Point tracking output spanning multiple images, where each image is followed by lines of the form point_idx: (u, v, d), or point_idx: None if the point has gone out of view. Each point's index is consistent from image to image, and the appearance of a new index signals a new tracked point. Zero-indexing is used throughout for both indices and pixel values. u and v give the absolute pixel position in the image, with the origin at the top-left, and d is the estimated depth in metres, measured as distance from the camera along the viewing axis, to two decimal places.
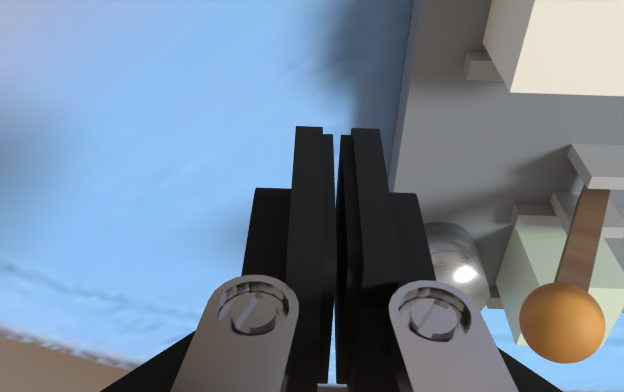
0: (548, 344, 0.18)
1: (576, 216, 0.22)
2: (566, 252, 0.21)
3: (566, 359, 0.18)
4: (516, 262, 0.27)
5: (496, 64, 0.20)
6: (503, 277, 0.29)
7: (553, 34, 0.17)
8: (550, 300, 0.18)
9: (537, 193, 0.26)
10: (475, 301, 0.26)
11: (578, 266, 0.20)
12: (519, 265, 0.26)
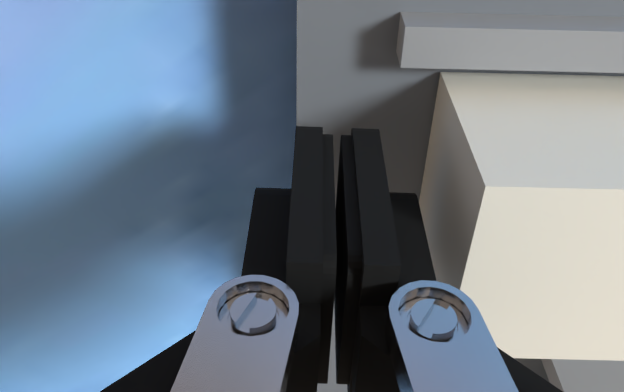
0: None
1: None
2: None
3: None
4: None
5: None
6: None
7: (511, 283, 0.10)
8: None
9: None
10: None
11: None
12: None
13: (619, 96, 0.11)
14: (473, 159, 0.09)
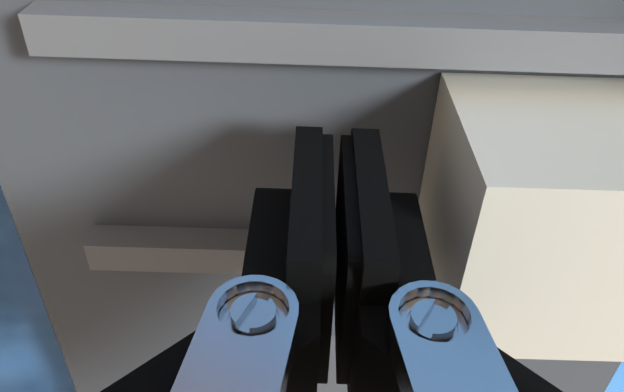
0: None
1: None
2: None
3: None
4: None
5: None
6: None
7: (510, 283, 0.10)
8: None
9: None
10: None
11: None
12: None
13: (619, 99, 0.11)
14: (474, 159, 0.09)
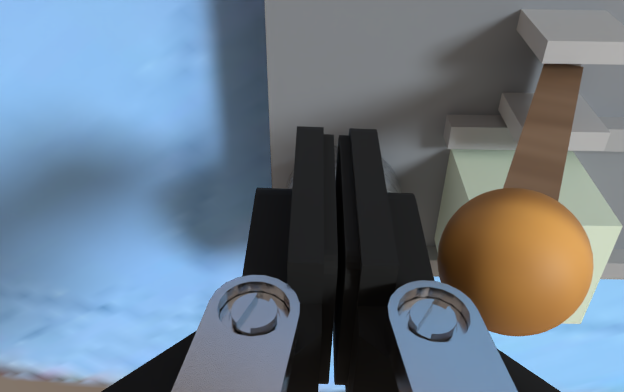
0: (488, 299, 0.09)
1: (532, 103, 0.14)
2: (517, 149, 0.12)
3: (524, 326, 0.09)
4: (452, 200, 0.18)
5: None
6: (441, 228, 0.20)
7: None
8: (486, 215, 0.09)
9: (478, 96, 0.18)
10: None
11: (538, 167, 0.11)
12: (456, 203, 0.18)
13: None
14: None
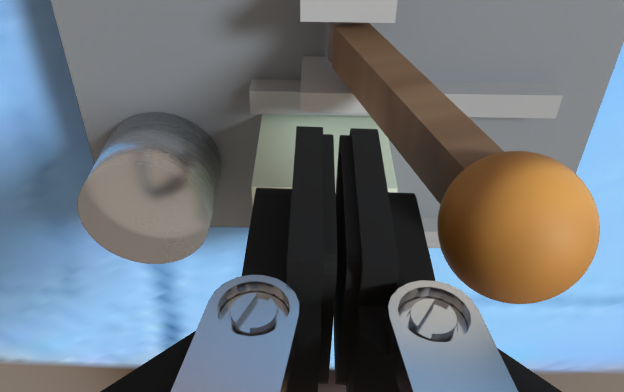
0: (552, 274, 0.09)
1: (375, 70, 0.13)
2: (421, 119, 0.11)
3: (577, 280, 0.09)
4: None
5: None
6: None
7: None
8: (511, 194, 0.09)
9: (279, 60, 0.18)
10: (191, 222, 0.18)
11: (454, 128, 0.11)
12: None
13: None
14: None
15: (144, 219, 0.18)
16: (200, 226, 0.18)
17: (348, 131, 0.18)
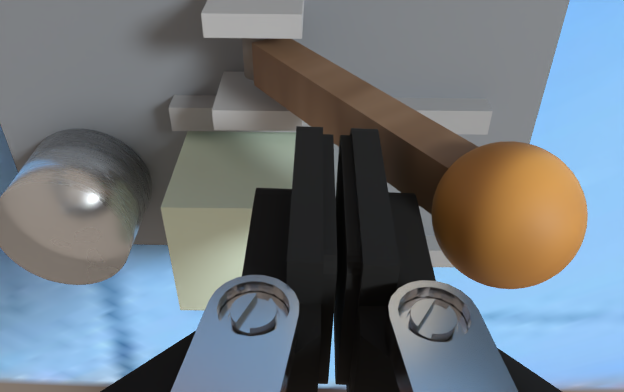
0: (562, 254, 0.09)
1: (315, 82, 0.13)
2: (384, 125, 0.11)
3: None
4: None
5: None
6: None
7: None
8: (514, 186, 0.09)
9: (200, 75, 0.17)
10: (110, 242, 0.17)
11: (418, 128, 0.11)
12: None
13: None
14: None
15: (61, 239, 0.17)
16: (120, 246, 0.17)
17: (273, 148, 0.17)
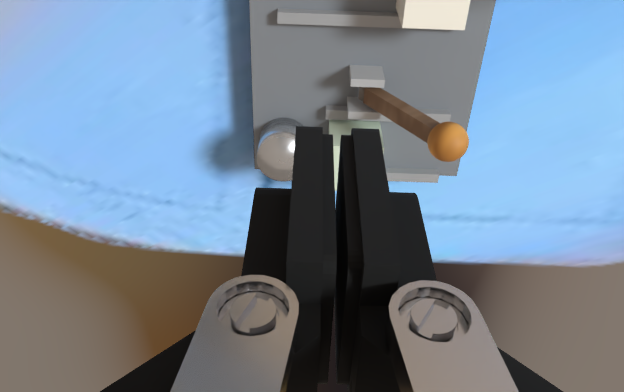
0: (460, 149, 0.36)
1: (390, 103, 0.40)
2: (413, 117, 0.38)
3: (465, 151, 0.37)
4: None
5: (399, 16, 0.38)
6: None
7: None
8: (448, 132, 0.36)
9: (338, 97, 0.44)
10: None
11: (424, 118, 0.38)
12: None
13: None
14: None
15: (282, 160, 0.44)
16: None
17: (365, 127, 0.44)
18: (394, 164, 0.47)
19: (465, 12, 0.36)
